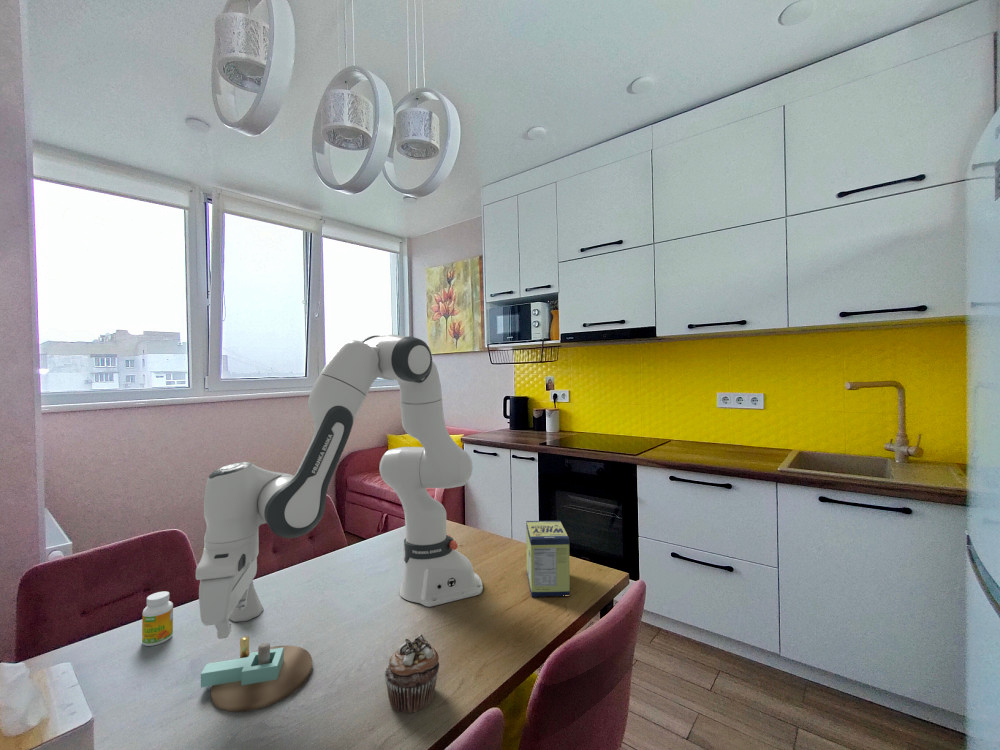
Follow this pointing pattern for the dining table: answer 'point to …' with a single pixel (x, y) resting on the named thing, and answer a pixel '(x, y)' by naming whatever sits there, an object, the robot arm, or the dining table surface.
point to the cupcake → (412, 675)
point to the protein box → (547, 558)
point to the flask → (248, 607)
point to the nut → (243, 670)
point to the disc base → (268, 692)
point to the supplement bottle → (157, 619)
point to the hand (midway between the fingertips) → (233, 621)
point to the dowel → (244, 647)
